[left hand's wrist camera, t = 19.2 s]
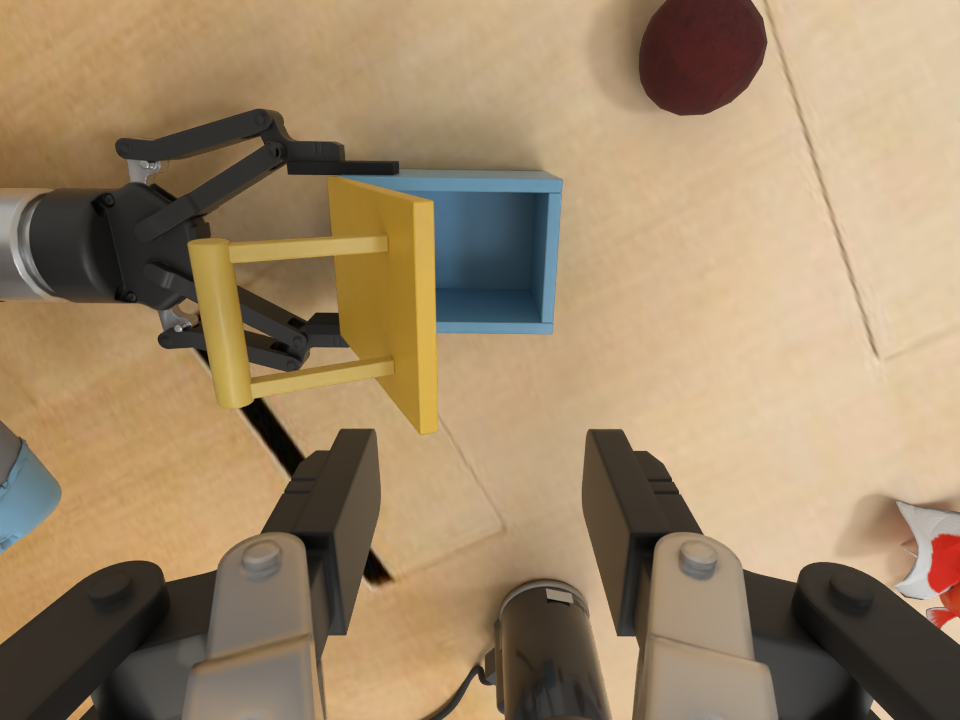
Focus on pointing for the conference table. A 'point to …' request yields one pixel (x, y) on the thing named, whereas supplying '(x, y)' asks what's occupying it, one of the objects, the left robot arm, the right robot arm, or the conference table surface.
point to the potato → (701, 53)
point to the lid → (340, 301)
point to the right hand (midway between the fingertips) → (399, 250)
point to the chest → (489, 245)
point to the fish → (934, 560)
